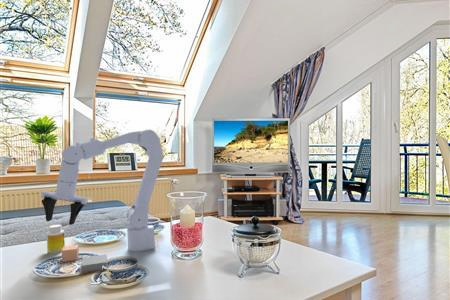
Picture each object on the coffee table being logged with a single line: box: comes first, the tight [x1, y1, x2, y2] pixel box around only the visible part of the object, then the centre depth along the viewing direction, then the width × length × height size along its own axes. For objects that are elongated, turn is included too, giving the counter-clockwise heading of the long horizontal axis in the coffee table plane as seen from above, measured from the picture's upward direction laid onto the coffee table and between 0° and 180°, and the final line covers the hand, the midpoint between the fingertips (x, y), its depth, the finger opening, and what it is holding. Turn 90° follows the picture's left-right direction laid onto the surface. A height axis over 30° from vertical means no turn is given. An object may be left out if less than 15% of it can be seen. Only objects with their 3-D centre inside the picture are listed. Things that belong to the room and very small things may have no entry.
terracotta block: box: [61, 244, 80, 263], centre depth 106 cm, size 4×4×5 cm
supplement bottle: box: [46, 224, 66, 254], centre depth 114 cm, size 6×6×10 cm
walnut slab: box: [79, 268, 103, 274], centre depth 98 cm, size 8×8×2 cm
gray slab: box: [80, 254, 108, 273], centre depth 98 cm, size 7×7×2 cm
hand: (60, 222), depth 105 cm, fingers open, 7 cm apart
